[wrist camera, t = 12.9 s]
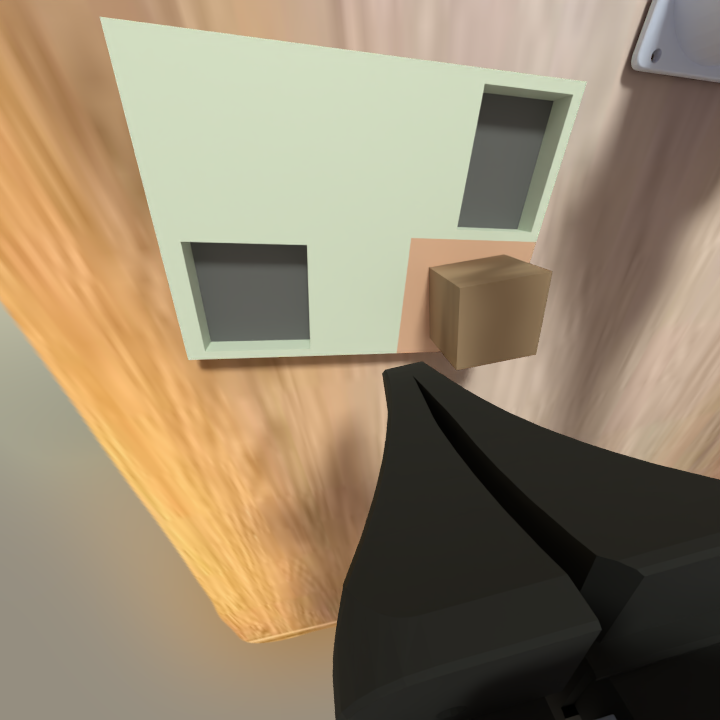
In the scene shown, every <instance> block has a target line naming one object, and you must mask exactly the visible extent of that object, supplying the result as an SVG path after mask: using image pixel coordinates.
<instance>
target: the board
mask: <svg viewBox="0 0 720 720" xmlns="http://www.w3.org/2000/svg"><path fill="white" fill-rule="evenodd" d="M100 20H101V24H102V27H103V31H104V35H105V39H106V43H107V47H108V51H109V55H110V58H111V62H112V66H113V70H114V74H115V78H116V82H117V86H118V89H119V93H120V97H121V101H122V105H123V109H124V113H125V116H126V120H127V124H128V128H129V132H130V136H131V140H132V144H133V147H134V151H135V155H136V159H137V163H138V167H139V171H140V175H141V178H142V182H143V186H144V190H145V194H146V198H147V202H148V206H149V209H150V213H151V217H152V221H153V225H154V229H155V233H156V236H157V240H158V244H159V248H160V252H161V256H162V260H163V264H164V267H165V271H166V275H167V279H168V283H169V287H170V291H171V295H172V298H173V302H174V306H175V310H176V314H177V318H178V322H179V326H180V329H181V333H182V337H183V341H184V345H185V349H186V353H187V356H188V360H201V359H232V358H263V357H294V356H325V355H356V354H387V353H418V352H441V351H440V350H439V349H438V347H437V346H436V345H435V344H434V342H433V341H432V340H431V339H430V321H429V267H434V266H440V265H445V264H451V263H457V262H463V261H469V260H474V259H480V258H486V257H492V256H497V255H503V254H505V255H507V256H510V257H513V258H516V259H519V260H521V261H524V262H527V263H530V260H531V257H532V254H533V250H534V247H535V244H536V241H537V238H538V235H539V231H540V228H541V225H542V222H543V219H544V216H545V212H546V209H547V206H548V203H549V200H550V197H551V194H552V190H553V187H554V184H555V181H556V178H557V175H558V171H559V168H560V165H561V162H562V159H563V156H564V153H565V149H566V146H567V143H568V140H569V137H570V134H571V130H572V127H573V124H574V121H575V118H576V115H577V112H578V108H579V105H580V102H581V99H582V96H583V93H584V89H585V86H586V83H587V82H585V81H577V80H570V79H562V78H555V77H547V76H540V75H533V74H525V73H518V72H510V71H503V70H495V69H488V68H480V67H473V66H465V65H458V64H450V63H443V62H435V61H428V60H420V59H413V58H405V57H398V56H390V55H383V54H375V53H368V52H360V51H353V50H345V49H338V48H330V47H323V46H315V45H308V44H300V43H293V42H285V41H278V40H270V39H263V38H255V37H248V36H240V35H233V34H225V33H218V32H210V31H203V30H195V29H188V28H180V27H173V26H165V25H158V24H150V23H143V22H135V21H128V20H120V19H113V18H106V17H100Z"/></svg>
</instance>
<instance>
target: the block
mask: <svg viewBox="0 0 720 720" xmlns="http://www.w3.org/2000/svg"><path fill="white" fill-rule="evenodd" d="M551 276H552V271H550V270H547V269H544V268H541V267H538V266H536V265H533V264H530V263H527V262H524V261H521V260H519V259H516V258H513V257H510V256H507V255H505V254H503V255H497V256H492V257H486V258H480V259H474V260H469V261H463V262H457V263H451V264H445V265H440V266H434V267H429V321H430V339H431V340H432V341H433V342H434V344H435V345H436V346H437V347H438V349H439V350H440V351H441V352H442V353H443V355H444V356H445V357H446V358H447V360H448V361H449V362H450V363H451V364H452V366H453V367H454V368H455V369H456V370H461V369H466V368H471V367H476V366H481V365H486V364H491V363H496V362H501V361H506V360H511V359H516V358H521V357H526V356H531V355H536V352H537V347H538V342H539V337H540V332H541V327H542V322H543V317H544V312H545V307H546V301H547V296H548V291H549V286H550V281H551Z"/></svg>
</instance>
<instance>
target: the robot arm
mask: <svg viewBox="0 0 720 720" xmlns="http://www.w3.org/2000/svg"><path fill="white" fill-rule="evenodd" d="M652 54H654V57H653V60H652V62H651V56H652ZM631 66H632V68H633V69H634V70H636V71H642V72H649V73H656V74H663V75H670V76H677V77H684V78H691V79H698V80H705V81H711V82H718V83H720V0H652V3H651V6H650V8H649V11H648V14H647V17H646V19H645V22H644V25H643V28H642V30H641V33H640V36H639V39H638V42H637V44H636V47H635V50H634V53H633V55H632V60H631ZM382 375H383V381H384V388H385V395H386V401H387V408H388V420H387V432H386V441H385V448H384V454H383V459H382V464H381V469H380V473H379V478H378V482H377V486H376V490H375V494H374V498H373V501H372V504H371V507H370V511H369V514H368V517H367V520H366V524H365V527H364V530H363V533H362V536H361V539H360V541H359V544H358V547H357V549H356V552H355V555H354V557H353V560H352V563H351V565H350V568H349V570H348V573H347V576H346V578H345V581H344V584H343V591H342V596H341V602H340V608H339V614H338V620H337V627H336V635H335V643H334V653H333V687H334V703H335V718H336V720H720V480H719V479H715V478H710V477H706V476H702V475H698V474H694V473H690V472H686V471H682V470H678V469H673V468H669V467H665V466H661V465H657V464H653V463H650V462H646V461H643V460H639V459H636V458H632V457H629V456H626V455H622V454H619V453H615V452H612V451H609V450H606V449H602V448H599V447H596V446H593V445H590V444H587V443H584V442H581V441H578V440H576V439H573V438H570V437H567V436H565V435H562V434H559V433H556V432H554V431H551V430H549V429H546V428H543V427H541V426H538V425H536V424H534V423H532V422H529V421H527V420H525V419H522V418H520V417H518V416H516V415H513V414H511V413H509V412H507V411H505V410H503V409H501V408H499V407H497V406H495V405H493V404H491V403H489V402H488V401H486V400H484V399H482V398H480V397H478V396H476V395H475V394H473V393H471V392H469V391H468V390H466V389H464V388H463V387H461V386H459V385H458V384H456V383H455V382H453V381H451V380H450V379H448V378H447V377H445V376H444V375H442V374H441V373H439V372H438V371H436V370H434V369H433V368H431V367H430V366H428V365H427V364H425V363H424V362H417V363H413V364H408V365H404V366H400V367H395V368H391V369H387V370H385V371H384V372H383V373H382Z"/></svg>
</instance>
